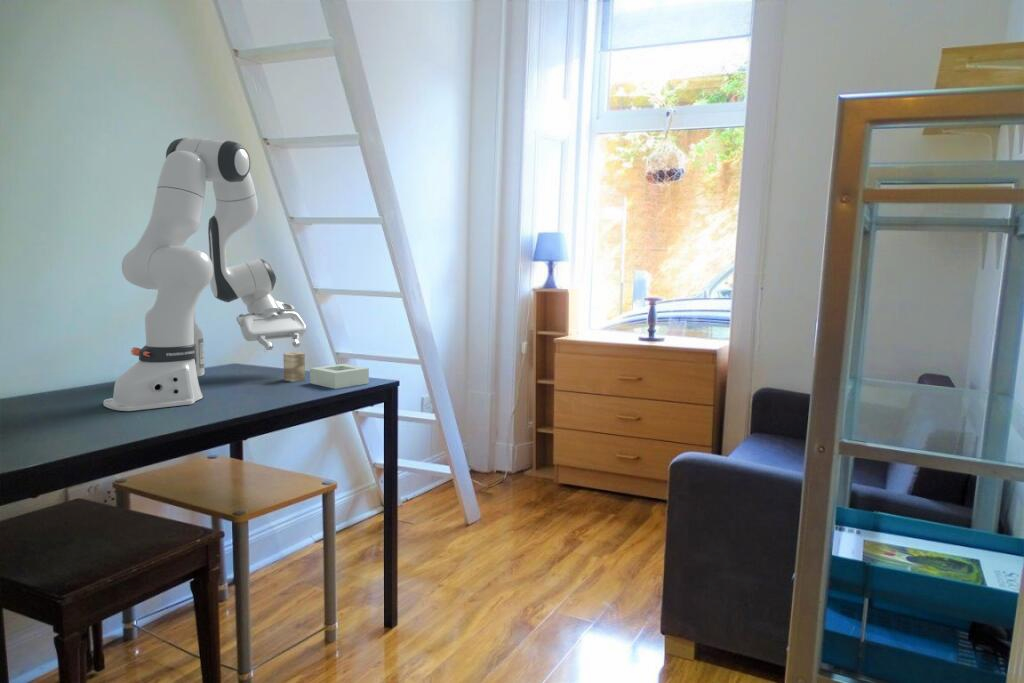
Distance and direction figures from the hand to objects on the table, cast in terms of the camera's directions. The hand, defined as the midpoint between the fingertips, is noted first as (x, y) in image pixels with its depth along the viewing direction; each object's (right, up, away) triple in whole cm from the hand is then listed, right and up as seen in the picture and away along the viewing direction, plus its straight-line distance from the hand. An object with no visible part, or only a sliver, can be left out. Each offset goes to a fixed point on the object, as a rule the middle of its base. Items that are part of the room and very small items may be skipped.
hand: (284, 347), depth 215 cm
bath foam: (-28, -9, +1) cm, 30 cm away
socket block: (+18, -11, -6) cm, 22 cm away
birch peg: (+4, -10, -2) cm, 11 cm away
